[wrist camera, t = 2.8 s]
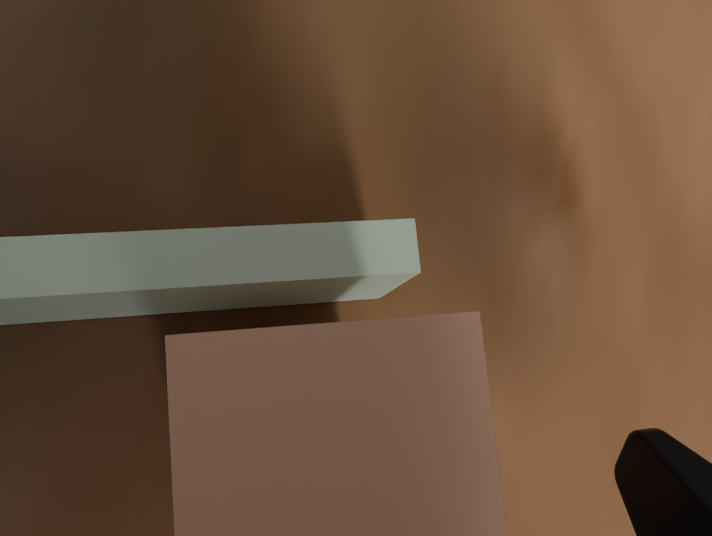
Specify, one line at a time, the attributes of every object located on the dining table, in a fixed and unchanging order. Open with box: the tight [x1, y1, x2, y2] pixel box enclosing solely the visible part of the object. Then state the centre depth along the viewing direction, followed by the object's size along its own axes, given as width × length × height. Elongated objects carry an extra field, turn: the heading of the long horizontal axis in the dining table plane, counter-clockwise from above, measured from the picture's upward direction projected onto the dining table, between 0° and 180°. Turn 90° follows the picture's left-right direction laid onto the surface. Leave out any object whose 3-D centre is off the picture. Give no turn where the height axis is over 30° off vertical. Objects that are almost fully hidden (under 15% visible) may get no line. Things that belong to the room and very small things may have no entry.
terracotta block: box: [165, 311, 508, 536], centre depth 13 cm, size 4×4×10 cm
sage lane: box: [0, 218, 421, 325], centre depth 15 cm, size 7×12×4 cm, turn 95°
